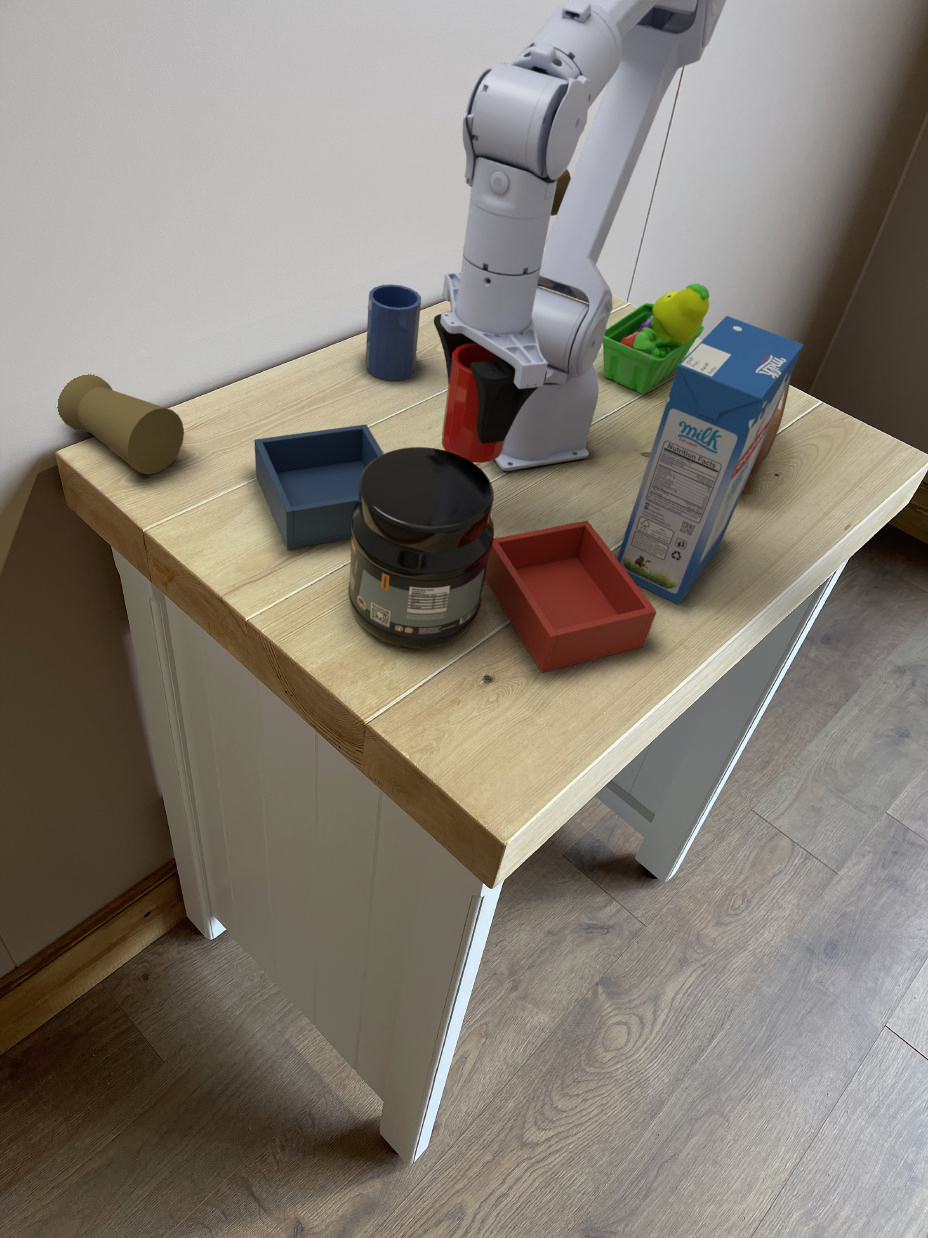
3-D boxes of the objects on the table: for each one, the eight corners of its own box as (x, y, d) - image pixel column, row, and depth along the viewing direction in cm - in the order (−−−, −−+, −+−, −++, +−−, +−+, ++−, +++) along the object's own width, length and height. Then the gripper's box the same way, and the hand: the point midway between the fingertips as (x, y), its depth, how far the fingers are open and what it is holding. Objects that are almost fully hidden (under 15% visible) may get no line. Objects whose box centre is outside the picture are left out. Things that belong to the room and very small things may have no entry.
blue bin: (364, 460, 86) (366, 423, 83) (402, 528, 79) (406, 492, 77) (256, 476, 82) (254, 439, 79) (287, 549, 76) (286, 512, 73)
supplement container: (415, 544, 78) (428, 424, 70) (506, 612, 74) (532, 493, 65) (319, 599, 72) (320, 476, 64) (411, 677, 68) (426, 555, 59)
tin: (738, 423, 98) (765, 352, 92) (767, 432, 97) (796, 361, 91) (714, 501, 88) (743, 426, 82) (746, 511, 87) (778, 437, 81)
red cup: (499, 428, 80) (514, 344, 74) (506, 464, 76) (523, 378, 70) (439, 425, 79) (450, 339, 73) (444, 461, 75) (455, 373, 70)
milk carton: (678, 605, 77) (761, 398, 63) (612, 573, 79) (678, 364, 64) (720, 544, 83) (804, 343, 69) (658, 516, 85) (727, 314, 71)
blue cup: (404, 352, 100) (410, 282, 94) (421, 377, 97) (428, 306, 91) (359, 357, 98) (362, 286, 93) (375, 383, 95) (379, 311, 89)
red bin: (578, 555, 80) (587, 519, 77) (643, 646, 73) (657, 611, 70) (481, 575, 76) (488, 538, 74) (541, 672, 70) (550, 636, 67)
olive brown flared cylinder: (126, 418, 75) (40, 370, 79) (129, 483, 79) (46, 434, 83) (183, 400, 79) (99, 356, 84) (184, 462, 83) (103, 417, 87)
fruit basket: (635, 340, 108) (661, 246, 100) (703, 370, 105) (735, 275, 97) (587, 376, 101) (611, 277, 93) (658, 409, 98) (689, 310, 90)
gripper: (414, 218, 69) (400, 378, 79) (494, 309, 60) (467, 478, 70) (498, 215, 72) (475, 370, 81) (586, 301, 63) (549, 465, 72)
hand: (476, 419), depth 76 cm, fingers closed on red cup, 5 cm apart
